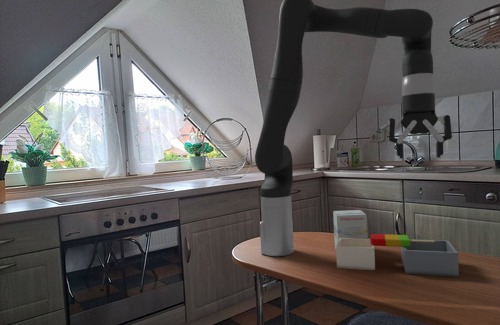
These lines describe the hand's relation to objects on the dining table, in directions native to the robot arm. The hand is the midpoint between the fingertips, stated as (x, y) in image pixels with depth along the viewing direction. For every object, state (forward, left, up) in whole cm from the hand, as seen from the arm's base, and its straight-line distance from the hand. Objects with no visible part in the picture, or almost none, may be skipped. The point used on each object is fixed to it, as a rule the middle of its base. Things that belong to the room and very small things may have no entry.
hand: (419, 158), depth 90 cm
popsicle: (+3, -3, -21) cm, 21 cm away
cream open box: (-16, -3, -27) cm, 32 cm away
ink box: (-18, +8, -27) cm, 34 cm away
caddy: (+1, -3, -27) cm, 27 cm away
